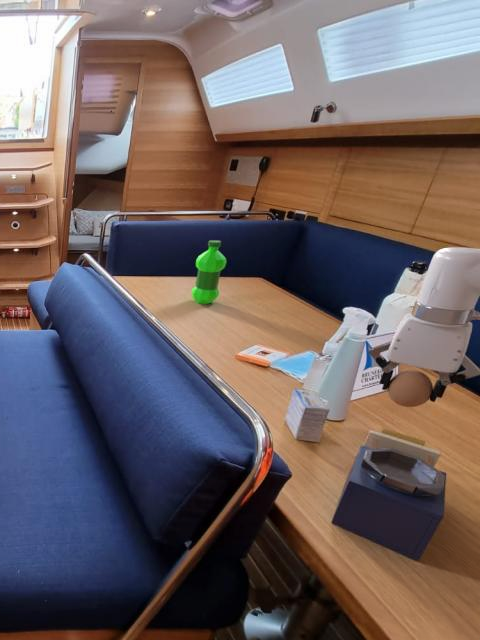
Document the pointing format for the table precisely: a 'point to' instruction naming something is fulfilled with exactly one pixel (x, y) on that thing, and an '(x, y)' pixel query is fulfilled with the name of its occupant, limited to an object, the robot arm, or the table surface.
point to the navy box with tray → (387, 513)
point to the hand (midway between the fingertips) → (408, 392)
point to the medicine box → (306, 415)
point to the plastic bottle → (208, 274)
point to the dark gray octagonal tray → (402, 472)
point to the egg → (410, 388)
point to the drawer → (402, 444)
